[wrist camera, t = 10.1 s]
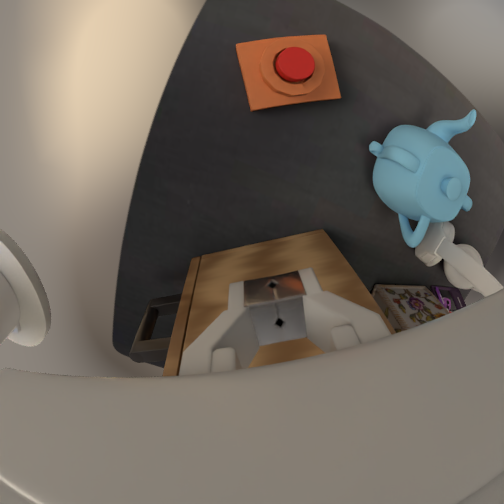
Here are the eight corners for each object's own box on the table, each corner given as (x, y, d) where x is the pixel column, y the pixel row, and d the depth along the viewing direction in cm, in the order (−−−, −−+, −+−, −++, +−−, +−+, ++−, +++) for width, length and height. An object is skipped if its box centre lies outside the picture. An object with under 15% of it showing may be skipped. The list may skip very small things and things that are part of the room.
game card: (473, 314, 36) (446, 314, 35) (456, 329, 40) (428, 330, 39) (460, 286, 41) (433, 282, 40) (445, 302, 45) (417, 300, 43)
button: (279, 84, 23) (282, 81, 22) (272, 53, 22) (274, 48, 20) (313, 80, 23) (318, 77, 22) (306, 49, 21) (310, 45, 20)
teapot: (370, 221, 35) (415, 263, 25) (346, 119, 28) (399, 127, 18) (436, 195, 34) (486, 225, 24) (422, 102, 27) (482, 110, 17)
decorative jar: (373, 281, 39) (432, 366, 23) (426, 283, 40) (485, 352, 24) (350, 338, 44) (386, 423, 28) (400, 335, 45) (442, 405, 29)
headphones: (417, 198, 33) (520, 265, 15) (470, 248, 38) (540, 310, 20) (392, 239, 36) (480, 326, 18) (449, 280, 40) (513, 349, 22)
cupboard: (241, 364, 45) (247, 481, 25) (201, 255, 35) (173, 405, 15) (331, 344, 44) (370, 455, 25) (322, 228, 34) (410, 354, 15)
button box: (250, 111, 28) (253, 109, 24) (235, 49, 24) (235, 39, 20) (334, 99, 27) (347, 97, 24) (320, 39, 24) (331, 30, 20)
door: (202, 370, 45) (194, 482, 26) (152, 266, 35) (94, 402, 16) (240, 365, 45) (245, 480, 25) (200, 256, 35) (171, 404, 16)
